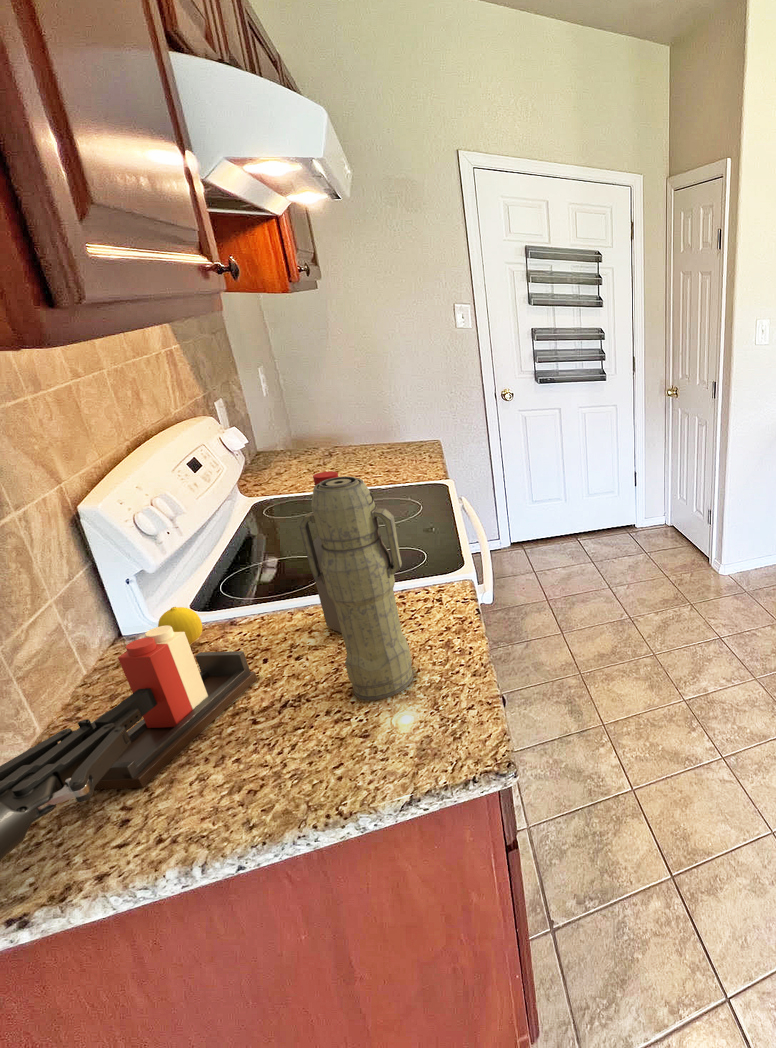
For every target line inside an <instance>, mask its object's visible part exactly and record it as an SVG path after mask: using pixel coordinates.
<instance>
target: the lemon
mask: <svg viewBox="0 0 776 1048" xmlns="http://www.w3.org/2000/svg"><path fill="white" fill-rule="evenodd" d="M160 626H171V627H172V629H173V632H185V635H186V637H187V640H188V643H189V645H190V646H191V645H192V644H193V643H194V642H196V641H197V640H198V639H199V638H200V637H201V635H202V632H203V622H202V620H201V617H200V616H199V614H197V612H195V610H193V609H191V608H188V607H185V606H184V607H183V606H180V607H177V606H173V607H171V608H170V609H169V610H167V611H165V612H164V613H163V614H162V615H161V616H160V617H159V620H158V622H157V627H160Z"/></svg>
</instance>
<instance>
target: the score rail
mask: <svg viewBox="0 0 776 1048" xmlns="http://www.w3.org/2000/svg"><path fill="white" fill-rule="evenodd" d="M194 658H195V661H196V663H197V666H198V669H199V673H200V675H201V678H202V681H203V684H204V686H205V689H206V692H207V694H208V698H207V699H206V700H204V701H203V702H202V703H201V704H200V705H199V706H198V707H196V708H195V709H194V710H193V711H192V712H191V713H190V714H189V715H187V716H186V717H185V718H184V719H183V720H182V721H181V722H180V723H178V724H177V725H176V726H175V727H162V728H147V726H146V723H145V721H144V718H142V719H141V720H140V721H138V722H137V723H136V724H135V725H134V726H132V727H131V728H130V729H129V730H127V733H128V735H129V738H130V740H131V744H130V745H129V746H128V748H127V749H126V750H125V751H124V752H123V753H122V755H121V756H120V757H119V758H118V759H117V761H116V762H115V763H114V764H113V765H112V766H111V768H110V769H109V770H108V771H107V772H106V774H105V775H104V776H103V777H102V778H101V779H100V781H99V782H98V783H97V784H96V785H95V788H94V791H95V790H96V791H97V790H98V791H99V790H117V789H120V790H121V789H140V788H144V787H145V786H146V785H148V783H149V782H150V781H152V779H153V778H154V777H156V775H158V774H159V773H160V772H161V771H162V770H163V769H164V768H165V767H166V766H167V765H168V764H169V763H170V762H171V761H172V760H173V759H174V758H176V757H177V756H178V755H179V754H180V753H181V752H182V751H183V750H184V749H186V747H187V746H188V745H189V744H191V742H192V741H193V740H195V738H196V737H197V736H199V735H200V734H201V733H202V732H203V731H204V730H205V729H206V728H207V727H208V726H209V725H210V724H212V723H213V722H214V720H216V719H217V718H218V717H219V716H220V715H221V714H222V713H223V712H224V711H225V710H227V708H229V706H230V705H231V704H232V703H233V702H234V701H236V700H237V699H238V698H239V697H240V696H241V695H242V694H243V693H244V692H245V691H246V690H247V689H249V687H250V686H251V685H252V684H254V683H255V682H256V681H257V679H258V676H257V675H256V672H255V671H251V670H250V666H249V664H248V661H247V657H246V654H245V651H244V650H238V651H237V650H236V651H234V650H233V651H232V650H231V651H200V652H199V653H196V655H195V656H194Z"/></svg>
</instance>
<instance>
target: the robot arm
mask: <svg viewBox="0 0 776 1048" xmlns="http://www.w3.org/2000/svg"><path fill="white" fill-rule="evenodd" d="M156 705H157V702H156V700H155V697H154V695H153V693H152V690H151V688H150V689H138V690H137V691H135V692H134V693H131V694H130V695H128V697H126V698H125V699H123V700H122V701H120V702H119V703H118V704H117V705H116V706H114V707H113V708H111V709H110V710H107V711H106V712H104V713H103V714H102V715H100V716H99V717H97V718H96V719H95V720H94V721H92V722H91V720H90V719H88V718H87V719H82V720H80V721H78V722H77V725H78V728H77V729H75V730H73V729H72V728H70V727H69V728H64V729H62V730H60V731H58V732H56V733H55V734H53V735H51V736H50V737H48V738H46V739H44V740H42V741H40V742H39V743H38V744H35V745H34V746H32V747H29V749H27V750H25V751H24V752H21V753H20V754H18V755H17V756H15V757H13V758H11V759H10V760H8V761H6V762H4V763H3V764H1V765H0V861H2V860H3V859H4V858H5V857H7V856H8V854H10V853H11V852H12V851H14V849H16V848H17V847H18V846H19V845H21V843H22V842H23V841H24V840H25V838H26V836H27V834H28V831H29V829H30V827H31V826H32V825H33V823H35V822H36V821H38V820H39V819H40V818H42V817H44V816H47V815H48V814H49V813H51V812H53V810H55V808H56V807H57V806H58V804H62V803H64V802H67V801H70V800H73V799H75V800H76V802H77V803H83V802H84V803H85V802H86V801H88V800H90V799H91V798H92V797H93V795H94V791H95V790H94V788H95V785H96V784H97V783H98V782H99V781H100V779H101V778H102V777H103V776H104V775H105V774H106V772H107V771H108V770H109V769H110V768H111V766H112V765H113V764H114V763H115V762H116V761H117V759H118V758H119V757H120V756H121V755H122V753H123V752H124V751H125V750H126V749H127V748H128V746H129V745H130V744H131V740H130V738H129V735H128V733H127V732H128V731H129V730H130V729H132V728H133V727H134V726H135V725H136V724H138V723H139V722H140V721H141V720H142V719H143V716H144V715H145V714H146V713H147V712H148V711H150V710H151V709H152V708H153V707H155V706H156Z"/></svg>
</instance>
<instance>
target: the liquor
mask: <svg viewBox="0 0 776 1048" xmlns="http://www.w3.org/2000/svg"><path fill="white" fill-rule="evenodd" d="M336 477H339V473H338V472H337V471H331V470H330V471H321V472H318V473H314V474H313V475H312V479H313V483H314V486H315V485H317V484H319V483H320V482H322V481H324V480H327V479H330V478H336ZM313 544H314V548H315V552H316V556H317V560H318V564H319V567H320V573H321V572H322V568H321V561H322V554H323V551H322V547H321V545H322V540H321V539H320V537H319V535H318V534H317V536H316V537H315V538H314V539H313ZM314 583H315V586H316V590H317V594H318V597H319V601H320V605H321V609H322V612H323V616H324V620H325V624H326V627H328V628H329V629H330V630H333V631H335V632H338V633H340V634H342V632H341V628H340V624H339V620H338V616H337V612H336V608H335V604H334V602H333V601H332V600H331V599H330V597H329V595H328V592H327V588H326V584H323V583H322V580H321V581H315V580H314Z"/></svg>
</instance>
